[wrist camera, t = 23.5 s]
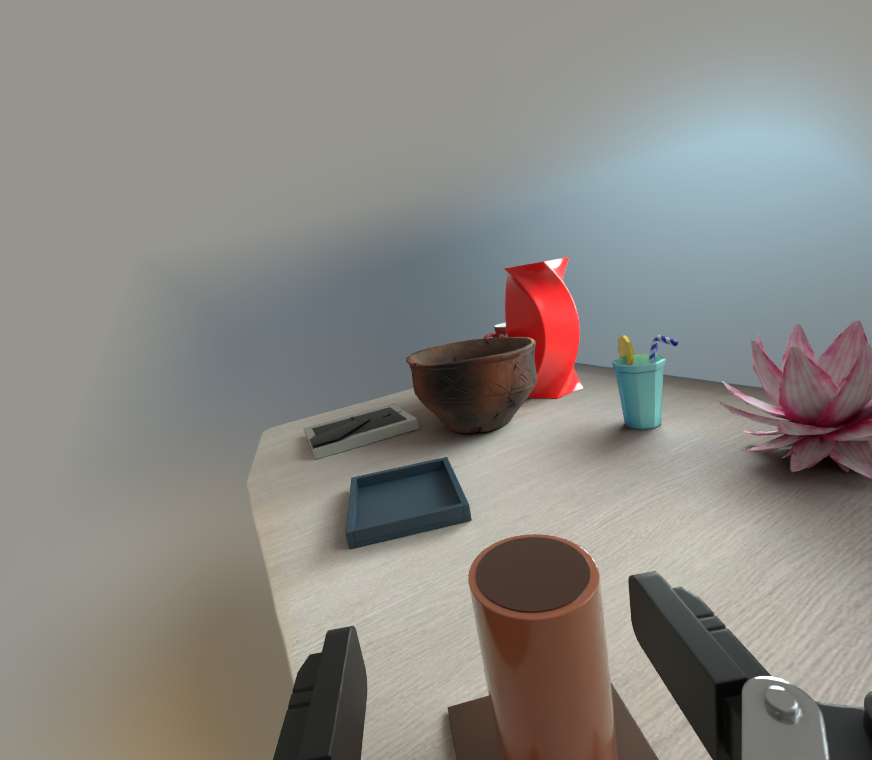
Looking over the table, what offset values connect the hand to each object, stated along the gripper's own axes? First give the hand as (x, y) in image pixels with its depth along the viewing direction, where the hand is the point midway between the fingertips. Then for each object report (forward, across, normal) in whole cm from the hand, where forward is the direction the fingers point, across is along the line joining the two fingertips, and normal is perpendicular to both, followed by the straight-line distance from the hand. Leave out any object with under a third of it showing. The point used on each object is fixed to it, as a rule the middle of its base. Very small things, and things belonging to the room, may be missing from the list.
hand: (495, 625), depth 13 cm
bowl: (+71, -8, +19) cm, 74 cm away
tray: (+44, +6, +19) cm, 48 cm away
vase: (+85, -25, +19) cm, 90 cm away
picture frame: (+78, +16, +19) cm, 82 cm away
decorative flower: (+36, -45, +19) cm, 60 cm away
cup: (+55, -33, +19) cm, 67 cm away
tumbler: (+8, -3, +18) cm, 20 cm away
